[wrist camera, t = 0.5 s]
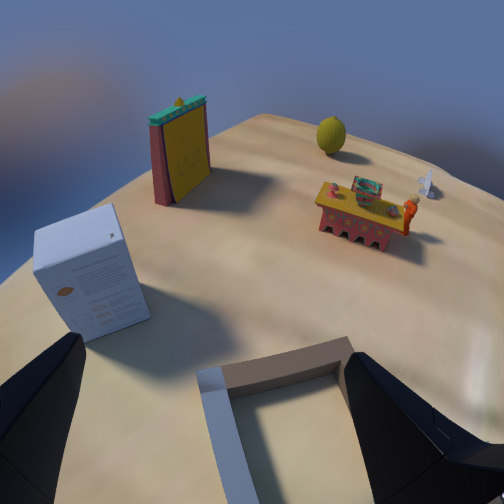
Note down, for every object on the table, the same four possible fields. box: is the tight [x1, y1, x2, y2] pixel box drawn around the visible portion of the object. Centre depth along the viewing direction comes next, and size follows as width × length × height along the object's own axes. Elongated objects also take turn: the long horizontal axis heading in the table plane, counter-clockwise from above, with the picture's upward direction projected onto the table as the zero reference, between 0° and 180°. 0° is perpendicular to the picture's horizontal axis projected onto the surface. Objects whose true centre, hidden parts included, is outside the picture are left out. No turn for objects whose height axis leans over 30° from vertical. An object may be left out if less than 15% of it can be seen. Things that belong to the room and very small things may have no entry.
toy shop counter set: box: [148, 95, 420, 252], centre depth 37 cm, size 12×35×14 cm, turn 66°
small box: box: [33, 203, 151, 343], centre depth 25 cm, size 8×6×10 cm
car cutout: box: [417, 170, 434, 198], centre depth 52 cm, size 15×7×4 cm, turn 156°
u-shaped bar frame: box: [196, 336, 354, 504], centre depth 18 cm, size 21×13×2 cm, turn 15°
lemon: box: [317, 116, 346, 154], centre depth 54 cm, size 6×6×8 cm
